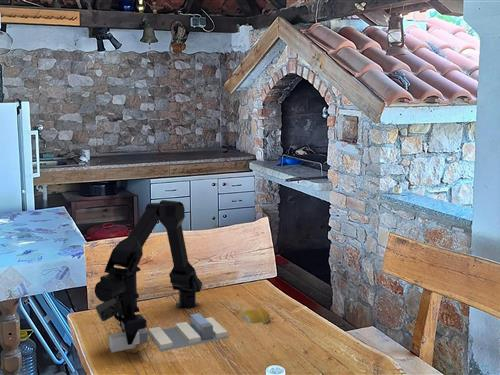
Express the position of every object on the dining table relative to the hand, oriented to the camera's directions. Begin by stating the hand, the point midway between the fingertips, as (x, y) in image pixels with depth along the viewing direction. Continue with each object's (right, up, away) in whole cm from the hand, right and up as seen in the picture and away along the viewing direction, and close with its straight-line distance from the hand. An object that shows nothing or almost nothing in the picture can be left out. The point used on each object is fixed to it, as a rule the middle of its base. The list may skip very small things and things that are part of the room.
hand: (128, 341), depth 163 cm
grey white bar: (0, -2, 0) cm, 2 cm away
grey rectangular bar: (+20, +1, +8) cm, 22 cm away
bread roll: (+37, +1, +20) cm, 42 cm away
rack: (+17, -1, +6) cm, 18 cm away
